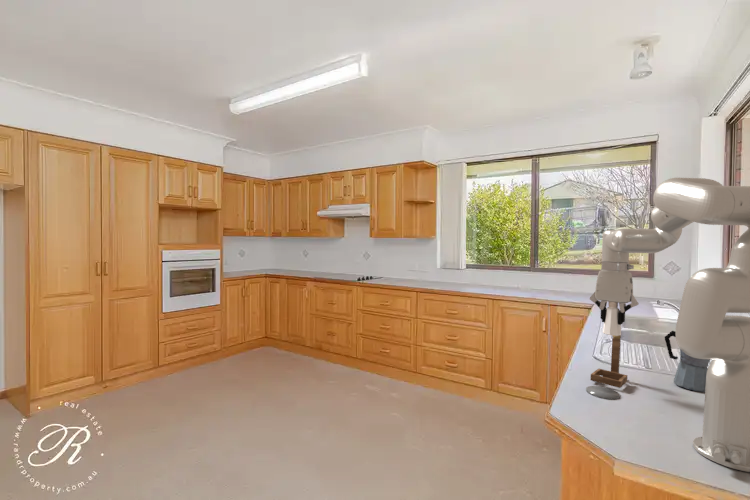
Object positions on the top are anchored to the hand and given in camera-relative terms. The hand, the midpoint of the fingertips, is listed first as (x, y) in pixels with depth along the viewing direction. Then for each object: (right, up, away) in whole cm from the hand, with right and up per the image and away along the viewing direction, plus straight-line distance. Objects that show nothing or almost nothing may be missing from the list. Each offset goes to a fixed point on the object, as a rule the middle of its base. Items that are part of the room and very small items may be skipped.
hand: (612, 322), depth 126 cm
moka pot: (+26, -22, 0) cm, 33 cm away
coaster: (-7, -21, -7) cm, 23 cm away
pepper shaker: (0, -4, 0) cm, 4 cm away
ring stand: (+1, -21, +3) cm, 21 cm away
